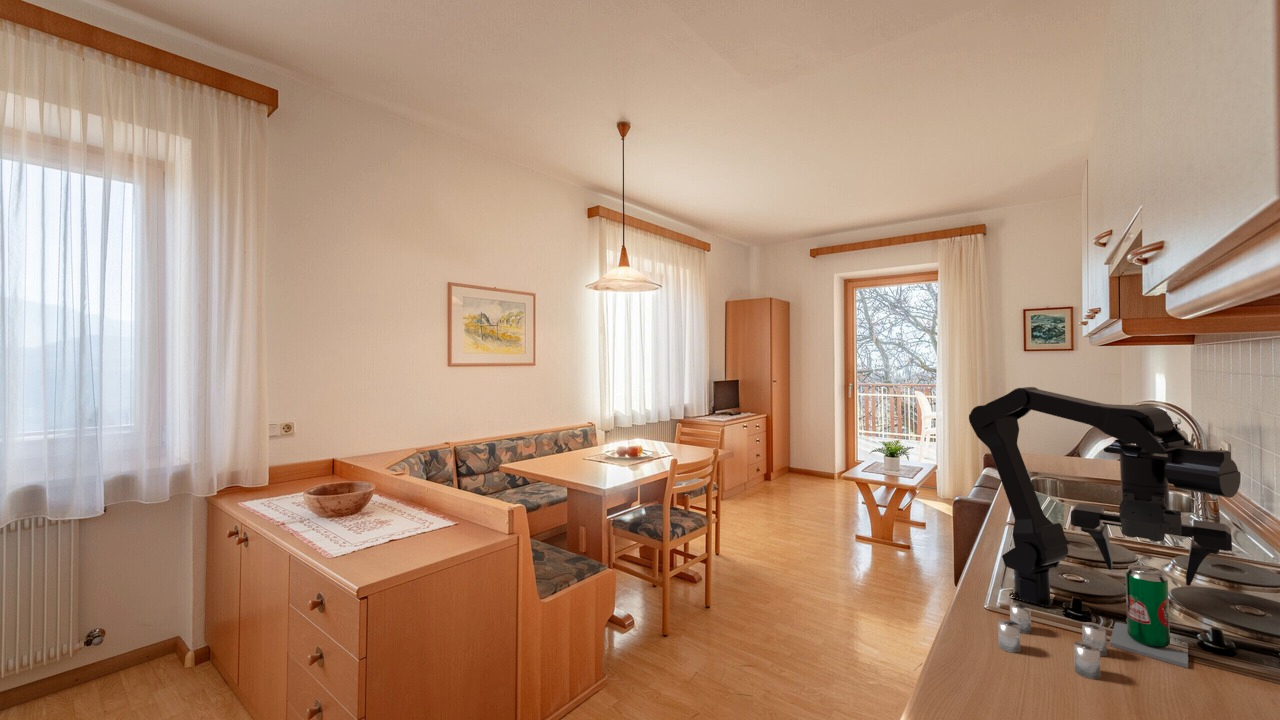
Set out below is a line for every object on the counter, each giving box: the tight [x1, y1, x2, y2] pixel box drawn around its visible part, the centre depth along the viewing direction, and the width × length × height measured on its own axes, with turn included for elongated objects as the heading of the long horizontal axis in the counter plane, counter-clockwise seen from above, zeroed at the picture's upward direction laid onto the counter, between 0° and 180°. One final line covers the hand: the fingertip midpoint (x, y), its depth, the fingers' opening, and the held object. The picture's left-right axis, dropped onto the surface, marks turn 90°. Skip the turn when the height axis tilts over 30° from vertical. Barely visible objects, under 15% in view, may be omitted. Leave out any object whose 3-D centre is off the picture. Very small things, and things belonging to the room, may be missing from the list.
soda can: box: [1125, 564, 1171, 648], centre depth 86 cm, size 5×5×12 cm
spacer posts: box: [997, 602, 1108, 680], centre depth 86 cm, size 11×13×4 cm
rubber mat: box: [1108, 621, 1190, 669], centre depth 86 cm, size 9×9×1 cm
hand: (1147, 576), depth 86 cm, fingers open, 9 cm apart
